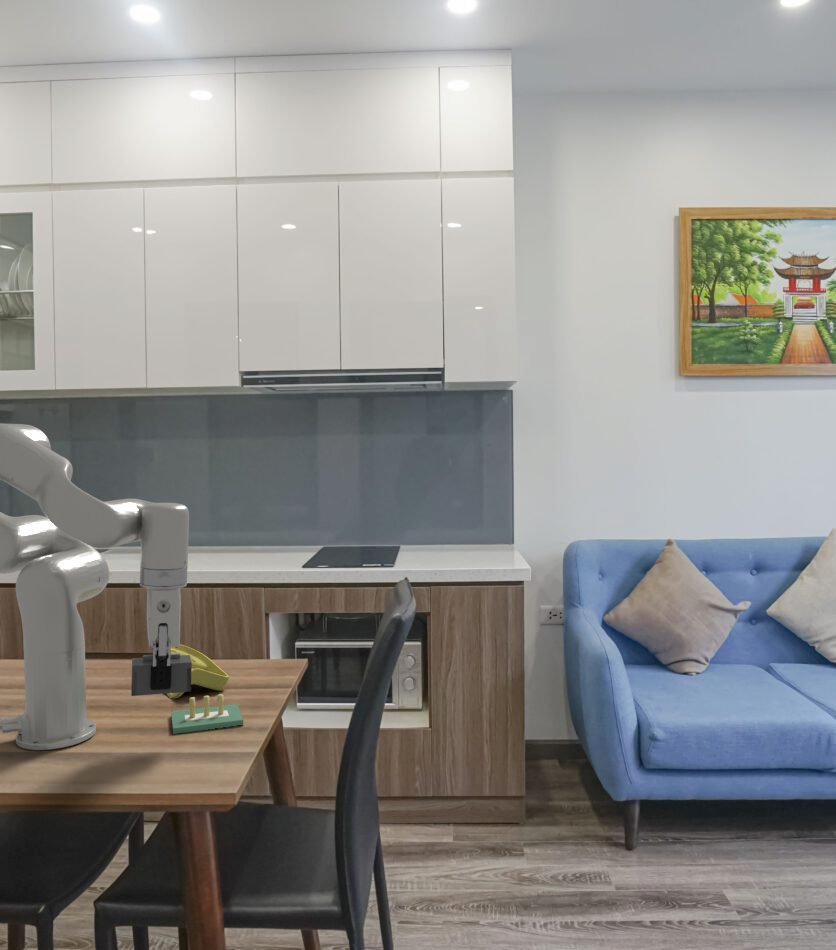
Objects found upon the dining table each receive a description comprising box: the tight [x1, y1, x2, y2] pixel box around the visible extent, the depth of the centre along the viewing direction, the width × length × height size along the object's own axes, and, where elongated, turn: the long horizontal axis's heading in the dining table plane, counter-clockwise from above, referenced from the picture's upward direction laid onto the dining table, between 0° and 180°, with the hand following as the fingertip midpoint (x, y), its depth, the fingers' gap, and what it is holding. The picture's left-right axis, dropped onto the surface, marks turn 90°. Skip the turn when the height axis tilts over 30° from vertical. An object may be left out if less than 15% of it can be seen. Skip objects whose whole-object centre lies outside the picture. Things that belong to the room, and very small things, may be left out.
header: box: [171, 693, 244, 735], centre depth 141 cm, size 12×9×4 cm
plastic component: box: [166, 643, 230, 699], centre depth 163 cm, size 20×7×10 cm
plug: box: [130, 653, 192, 697], centre depth 130 cm, size 9×4×6 cm, turn 110°
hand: (160, 682), depth 130 cm, fingers closed on plug, 4 cm apart
